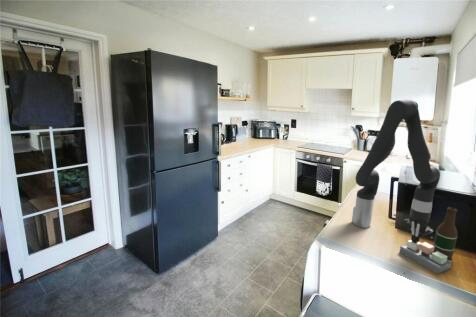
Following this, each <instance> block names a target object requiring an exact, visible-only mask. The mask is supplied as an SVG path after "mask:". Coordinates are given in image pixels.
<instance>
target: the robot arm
mask: <svg viewBox="0 0 476 317" xmlns="http://www.w3.org/2000/svg"><path fill="white" fill-rule="evenodd" d="M401 122H405V125H406V128H407V148H408V152H409V154H410V157H411V159H412V165H413V166H412V167H413V173H414V176H415V178H416V180H418V182H419V183H418V185H417V186H416V187H415V190H414V194H413V195H414V196H413V199H412V201H411V202H412V203H411V207H410V211H409V212H410V213H409V217H408V218H406V219H403V220H402V221H403V223H404V226H405V228H406V229H407V232H408V233H411V238H410V240H412V242H413V243H417V242H420V238H423V237H426V236H428V235H430V234H432V233H434V231H435V230H434V229H431V227H430V220H431V219H430V218H431V213H432V208H433V201H434V195H435V190H436V189H437V186H438V185H439V182H440V178H441V172H440V170H439V168H437V167H436V166H434V165H431V164H430V160H431V158H432V157H431V152H430V150H429V148H428V145H427V142H426V140H425V136H424V133H423V128H422V122H421V116H420V112H419V107H418V104H417V103H416V101H415V100H413V99H400V100H394V101H393V102H392V103H391V104H390V105H389V107H388V109H387V112H386V114H385V117H384V120H383V122H382V125H381V127H380V129H379V131H378V133H377V136H376V138H375V140H374V141H373V143H372V146H371V148H370V150H369V152H368V154H367V156H366V158H365V159H364V162H362V165H361V166H360V167H359V169H358V171H357V173H356V176H355V183H356V184H357V185H358V186H359V187H361V188H360V189H359V190H357V191H356V198H355V206H354V207H353V210H352V216H351V223H353V225H355V226H356V227H358V228H361V229H363V228H364V229H368V228H370V227H371V223H372V216H373V211H374V210H373V209H374V205H375V197H376V195H377V194H378V189H379V184H380V174H379V172H378V171H377V170H376V168H377V167H378V166H379V165H381V163H383V162H384V161H385V160H387V158H389V156H390V155H391V153H392V151H393V149H394V147H395V145H396V132H397V129H398V128H399V126H400V124H401ZM424 230H425V231H424ZM423 231H424V232H423Z"/></svg>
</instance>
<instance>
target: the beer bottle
mask: <svg viewBox="0 0 476 317" xmlns="http://www.w3.org/2000/svg"><path fill="white" fill-rule="evenodd" d="M457 213H458V209H457V208H455V207H451V206H449V207H447V208H446V214H445V216H444V220H443V222H442V223H440V224H439V225H438V226H437V227H436V231H435V234H434V240H433V244H432V245H433V246H435V247H434V252H433V253H435V252H437V251H438V252H440V253H442V254H444V255H446V256H448V257H447V260H450V259H452V258H453V256H454V252H455V248H456V243H457V239H458V230H457V227H456V215H457Z"/></svg>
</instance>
